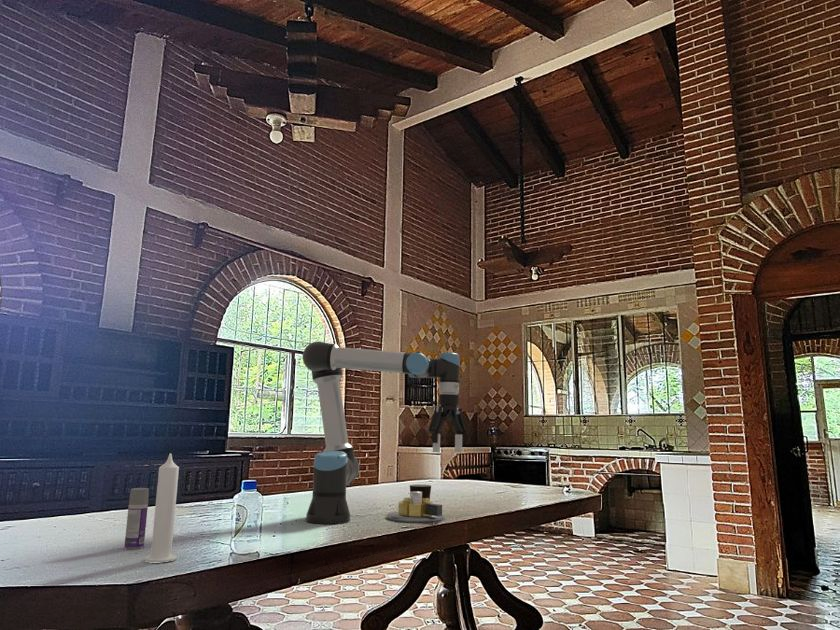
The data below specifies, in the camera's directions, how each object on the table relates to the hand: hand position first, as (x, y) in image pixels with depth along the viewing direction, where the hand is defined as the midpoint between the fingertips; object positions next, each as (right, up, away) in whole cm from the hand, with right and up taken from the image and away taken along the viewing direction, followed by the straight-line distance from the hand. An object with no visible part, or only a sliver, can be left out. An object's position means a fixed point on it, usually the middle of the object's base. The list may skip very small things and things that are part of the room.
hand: (447, 452), depth 217 cm
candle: (-72, -8, -76) cm, 105 cm away
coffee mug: (-10, -27, +16) cm, 33 cm away
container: (-86, -11, -62) cm, 106 cm away
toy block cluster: (-10, -22, -4) cm, 24 cm away
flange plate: (-12, -23, -2) cm, 26 cm away
